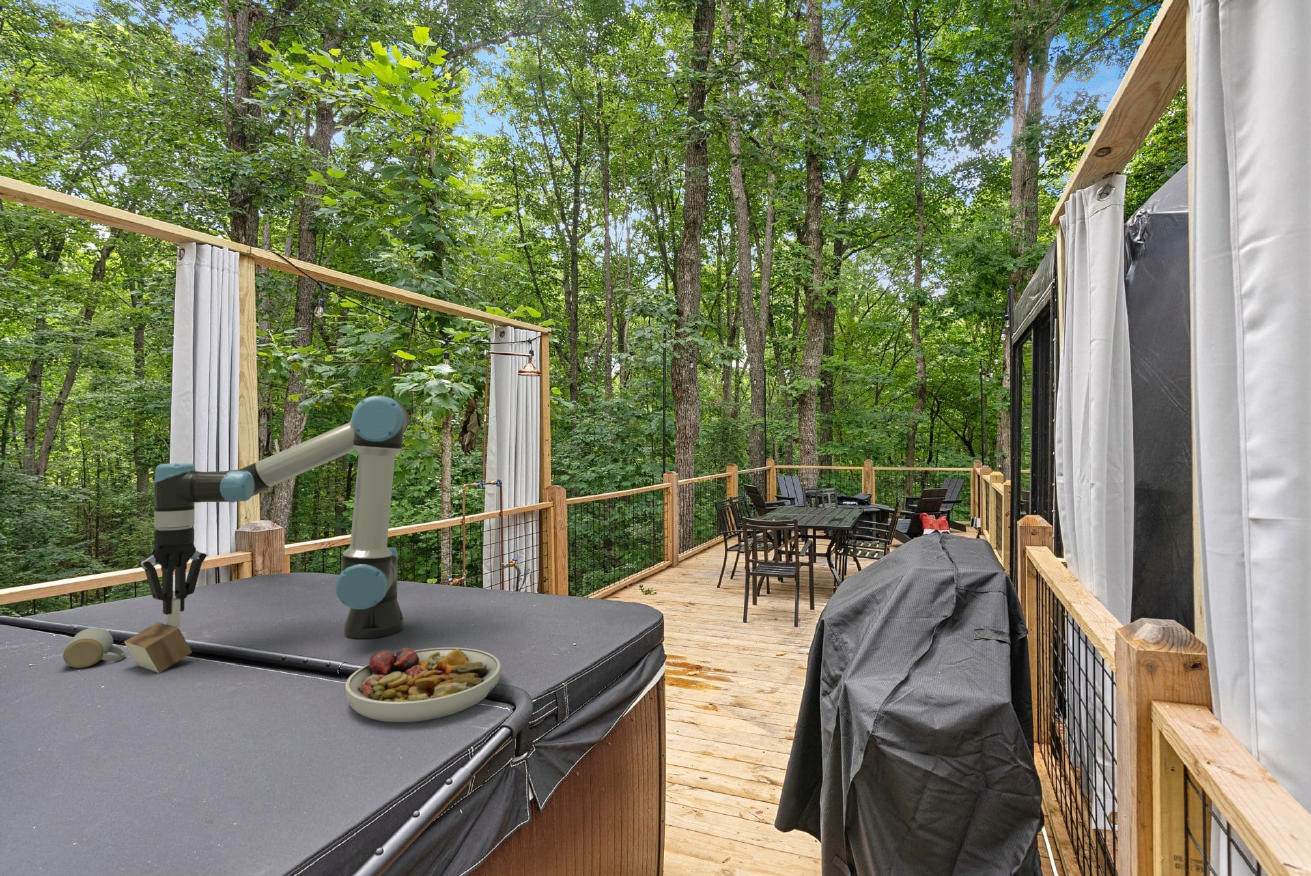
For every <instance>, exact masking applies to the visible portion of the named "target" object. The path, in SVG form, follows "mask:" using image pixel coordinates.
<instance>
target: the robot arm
mask: <svg viewBox="0 0 1311 876" xmlns="http://www.w3.org/2000/svg"><path fill="white" fill-rule="evenodd" d="M409 421H410V419H409V413H408V411H407V410H406V408H405V407H404V405H402V404H401V403H400V402H398V401H397V400H395V399H393V398H391V397H390V396H386V395H385V396H384V395H373V396H369V397H365V398H363V399H362V400H361V401H358V403H357V404H356V405H355V407H354V409H353V411H352V414H351V418H350V421H349V422H348V423H345V424H342V425H340V426H338V427H336V428H334V429H331V430H328V431H326V432H323V433H321V434H319V435H317V436H314V437H312V438H310V439H308V440H306V441H303V442H300V443H298V444H296V445H293V446H291V447H289V448H286V449H284V450H282V451H279V452H277V453H275V454H272V455H271V456H268V457H265V458H264V459H261V460H258V461H256V462H254V463H251V464H248V465H247V466H244V467H242V468H239V469H234V470H232V469H231V470H222V471H221V470H219V471H217V470H215V471H213V470H212V471H199V470H198V471H197V470H196V466H195V465H194V464H193V463H179V462H178V463H160V464H158V465H157V466H156V467H155V471H154V480H153V481H154V482H153V487H154V489H153V490H154V491H153V493H154V513H153V514H154V515H153V516H154V518H153V519H154V520H153V521H154V522H153V527H154V528H156V529H155V530H154V531H153V550H152V552H151V555H150V556H149V557H148V558H146V559H145V560H141V561H140V562H139V564H138V565H139V566H141V568H142V569H143V570H144V572H145V577H146V579H147V582H148V587H149V589H150V592H151V596H152V598H153V599H154V600H158V601H162V614H164V615H166V625H169V626H173V627H176V628H179V627H181V612H184V611H185V600H186V599H187V597H188V596H190V595H192V594H194V593H195V590H196V586H197V582H198V579H199V575H200V571H201V567H202V566H203V565H202V564H203V562H204V561H205V559H206V558H207V556H208V555H207V553H204V552H201V551H197V548H196V546H195V544H194V543H195V528H194V527H193V526H194V525H195V503H196V504H197V503H233V504H234V503H238V502H247V501H249V500H250V499H251V498H252V497H255V496H257V495H259V494H260V493H261V492H264V491H265V490H267V489H269V488H272V487H274V486H276V485H278V484H280V483H283V482H285V481H288V480H290V479H292V478H294V477H297V476H299V475H301V474H303V473H306V472H308V471H310V470H312V469H315V468H317V467H320V466H322V465H324V464H327V463H329V462H331V461H333V460H336V459H338V458H340V457H343V456H345V455H347V454H349V453H352V452H354V451H357V453H358V459H357V471H356V480H355V491H354V492H355V493H354V501H353V503H354V504H353V512H352V520H351V521H352V524H351V534H350V542H349V543H350V544H349V547H348V548H347V549H346V550H344V551H343V552H342V558H341V567H340V568H341V569H340V574H339V575H338V577H337V578H336V581H335V595H336V596H337V598H338V599H339V601H340V602H341V603H342V604H343V605H344V606H346V607H348V608H349V611H348V613H347V616H346V620H345V624H344V625H343V635H344V636H345V637H347V638H350V639H375V638H382V637H386V636H391V635H394V634H396V633H399V632H400V631H402V630H403V629H404V627H405V621H404V620H405V618H404V617H403V613H402V610H401V607H400V605H399V602H398V561H399V557H398V550H397V548H395V547H388V538H389V537H388V535H389V526H390V525H389V524H390V513H391V504H392V503H391V501H392V494H393V481H394V471H395V461H396V460H395V459H396V456H397V454H399V453H400V452H401V451H403V444H404V443H403V441H404V434H405V433H406V431H407V430H408V427H409ZM191 559H192V560H191ZM190 560H191V562H190ZM189 562H190V566H189V571H188V572H187V569H188V563H189ZM156 563H157V564H158V565H159V566H160V569H161V581H160V578H159V575H158V572H157V569H156V568H155V567H156ZM186 572H187V573H188V574H187V573H186ZM186 574H187V575H186Z"/></svg>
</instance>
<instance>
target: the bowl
mask: <svg viewBox="0 0 1311 876" xmlns="http://www.w3.org/2000/svg"><path fill="white" fill-rule="evenodd" d="M501 669H502V667H501V661H500V660H499V659H498V658H497V657H496V656H495V655H493V654H491V653H489V652H487V651H484V650H480V649H474V648H469V647H468V648H466V647H435V648H434V647H433V648H423V649H417V650H414V649H413V648H411V647H403V648H401V649H399V650H398V652H396V654H394V652H393V651H391V650H388V649H381V650H380V651H377V652H375V653H374V654H373V655H371V657H370V658H369V662H368V664H365V665H364V666H362V667H360V668H359V669H357V670H356V671H354V672H353V673H352V674H350V676H349V677H348V678H347V679H346V682H345V684H344V685H345V692H344V693H345V698H346V700H347V703H348V704H349V705H350V707H351V708H352V709H353V711H355V712H356V713H358V714H359V715H361V716H363V717H366V718H368V719H371V720H376V721H378V722H379V721H380V722H388V723H415V722H423V721H429V720H430V721H431V720H434V719H440V718H444V717H447V716H451V715H454V714H457V713H460V712H462V711H464V710H467V709H469V708H471V707H473V706H474V705H476V704H478V703H480V702H481V701H482V700H484V699H485V698H487V697H488V696H487V694H488V692H489V689H490V687H491V686H493V685H495V684H496V685H497V684H498V683H499V680H500V676H501V671H502V670H501Z"/></svg>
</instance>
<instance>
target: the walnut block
mask: <svg viewBox="0 0 1311 876" xmlns="http://www.w3.org/2000/svg"><path fill="white" fill-rule="evenodd" d="M124 644H125V646H126V647H127V650H128V651H129V652H130V654H131V655H132V657H133V660H135V662H136V664H137V666H139V667H142V668H144V669H147V670H149V671H153V672H155V673H158V674H160V673H162V672H163V671H165V670H167V669H168V668H170V667H172V665H175V664H176V663H178V662H179V661H181V660H182V659H184V658H186V657H187V656H189V655H190V654H192V653H193V652H192V650H191V648H190V646H189V644H188V643H187V640H186V639H185V637H184V635H183V633H182V632H181V630H180V628H179V627H173V626H169V625H167V623H162V622H159V621H158V622H155V623H154V624H152V625H150V626H149V627H147V628H145V629H143V630H142V631H140V632H138V633H136V634H135V635H133V636H131V637H129V638H128V639H126V640H124Z"/></svg>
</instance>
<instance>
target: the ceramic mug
mask: <svg viewBox="0 0 1311 876" xmlns="http://www.w3.org/2000/svg"><path fill="white" fill-rule="evenodd" d="M113 644H114V638H113V635H112V634H111V633H110V632H109V631H108V630H106V629H104V628H101V627H89V628H85V629H83V630H80V631H79V632H77V633H76V634H75V635H74V636H73V637H72V639H71V640H70V641H69V643H68V644H67V645H66V646H65V648H64V650H63V654H62V655H63V661H64V662H65V664H67V665H68V666H69V667H71V668H74V669H85V668H89V667H91V666H93V665H95V664H98V663H99V662H100V661H106V662H119V661H122V660H124V659H125V656H126V655H127V650H125V649H124V648H123V647H119V646H117V645H113ZM110 653H112V654H110Z"/></svg>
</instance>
